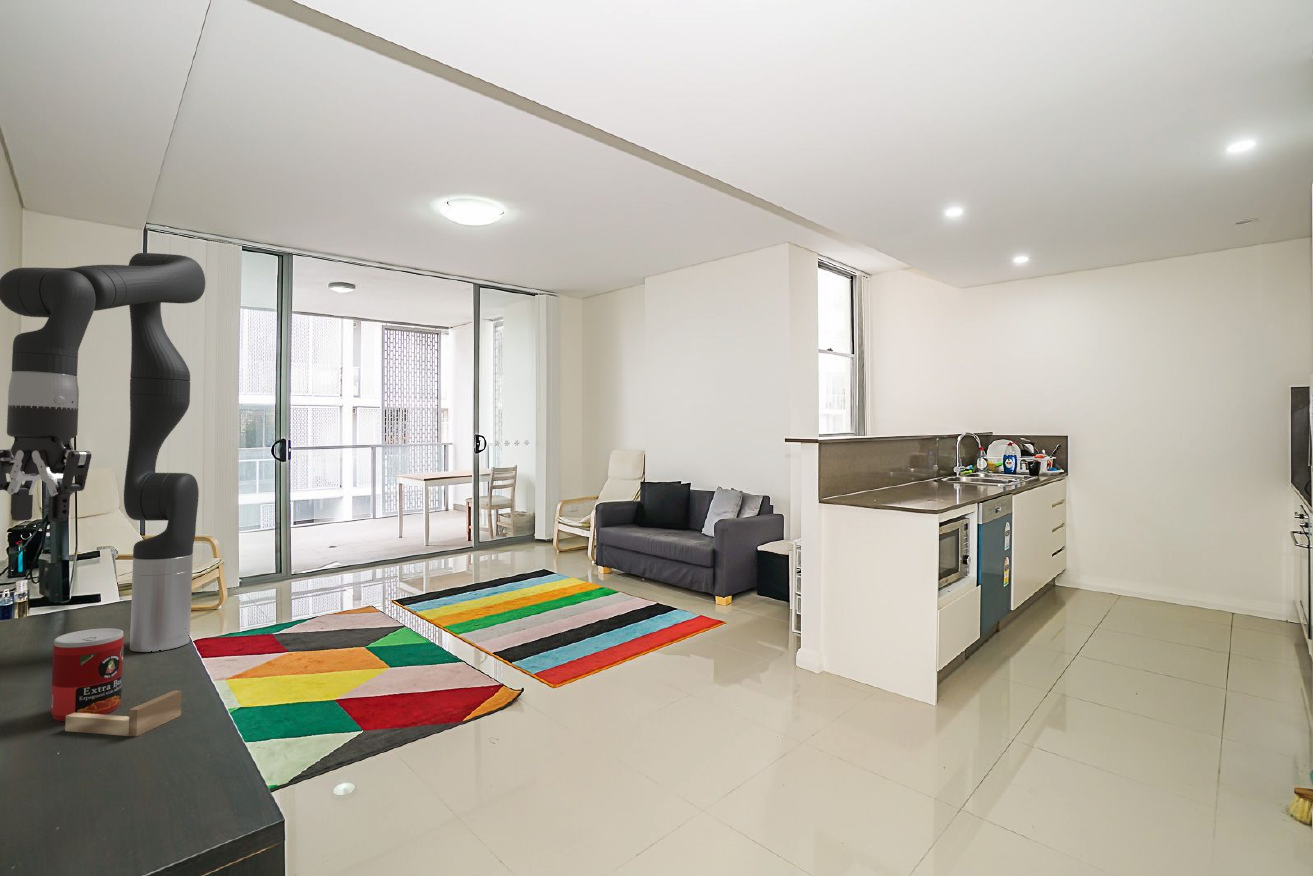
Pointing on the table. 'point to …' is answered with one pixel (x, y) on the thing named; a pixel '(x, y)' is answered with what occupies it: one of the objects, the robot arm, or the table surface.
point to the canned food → (87, 672)
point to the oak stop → (129, 718)
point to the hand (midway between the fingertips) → (39, 520)
